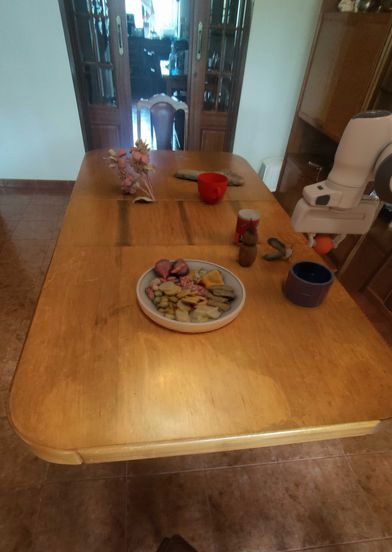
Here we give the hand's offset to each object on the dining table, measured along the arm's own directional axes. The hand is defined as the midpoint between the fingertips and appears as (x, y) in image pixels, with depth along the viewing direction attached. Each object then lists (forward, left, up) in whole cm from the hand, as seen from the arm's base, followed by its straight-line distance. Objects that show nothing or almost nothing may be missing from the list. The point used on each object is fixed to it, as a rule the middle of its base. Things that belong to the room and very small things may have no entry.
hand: (321, 247), depth 85 cm
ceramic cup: (+21, -66, -16) cm, 71 cm away
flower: (+55, -70, -16) cm, 91 cm away
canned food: (+13, -31, -16) cm, 37 cm away
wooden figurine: (+15, -17, -16) cm, 28 cm away
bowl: (+35, +4, -16) cm, 39 cm away
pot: (0, 0, -16) cm, 16 cm away
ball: (0, 0, +1) cm, 1 cm away
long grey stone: (+19, -94, -16) cm, 97 cm away
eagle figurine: (+3, -21, -16) cm, 27 cm away
